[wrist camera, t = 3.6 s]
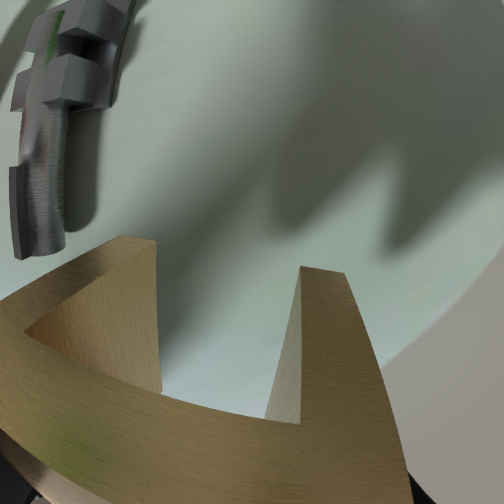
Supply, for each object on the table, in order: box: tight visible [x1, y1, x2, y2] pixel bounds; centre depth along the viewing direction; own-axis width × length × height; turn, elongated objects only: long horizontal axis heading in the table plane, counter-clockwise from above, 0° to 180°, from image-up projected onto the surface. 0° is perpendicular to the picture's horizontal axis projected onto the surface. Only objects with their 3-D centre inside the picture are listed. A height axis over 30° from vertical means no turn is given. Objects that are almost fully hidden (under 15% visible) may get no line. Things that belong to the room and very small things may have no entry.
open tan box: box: [0, 235, 414, 504], centre depth 5 cm, size 6×6×6 cm
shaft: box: [9, 0, 136, 260], centre depth 11 cm, size 16×7×4 cm, turn 173°
